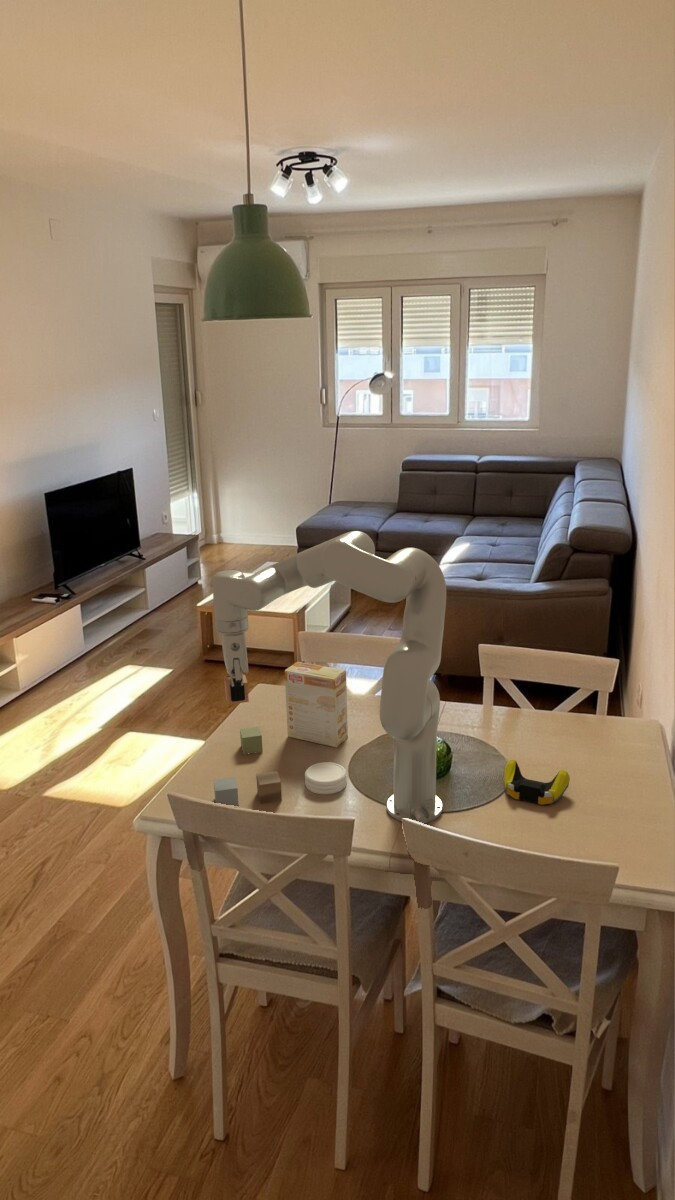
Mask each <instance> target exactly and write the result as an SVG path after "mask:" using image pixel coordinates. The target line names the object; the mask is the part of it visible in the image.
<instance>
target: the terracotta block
mask: <svg viewBox="0 0 675 1200" xmlns="http://www.w3.org/2000/svg"><path fill="white" fill-rule="evenodd" d="M234 678H235V676H233V679H234ZM223 680H224V682H223V683H224V684H223V685H224V695H225V696H224V697H225V700H226V704H227V705H235V704H243V703H249V688H248V680H247V676H246V673H244V674H243V684H244V690H245V700H243V701H234V702H232V701H231V690H230V685H231V676H230V675H227V676H223Z"/></svg>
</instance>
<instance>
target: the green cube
mask: <svg viewBox="0 0 675 1200" xmlns="http://www.w3.org/2000/svg"><path fill="white" fill-rule="evenodd" d="M239 733H240V734H239V735H240V747H242V748H241V750H242V751H243V752H242V751H241V752H242V755H243V754H248V753H255V752H263V751H264V749H263V735H262V731H261V729H260V726H256V727H247V728H240V729H239ZM255 754H256V753H255ZM248 755H249V754H248Z"/></svg>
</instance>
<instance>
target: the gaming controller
mask: <svg viewBox="0 0 675 1200" xmlns="http://www.w3.org/2000/svg"><path fill="white" fill-rule="evenodd" d="M503 772H504V773H503V786H504V790H505V792H506V794H507V795H508V796H510V797H512V798H513V799H515V800H520V801H524V802H528V803H533V804H538V805H542V806H543V805H548V804H549V805H551V804H554V803H555V802H557V801H558V800H559V799H560V798H561V797H562V796H563V795H564V794H565V792H566V791H567V789H569V786H570V774H569V772H568V771H566V770H565V769H560V770H559V771H558V773H556V775H555V776H554V778H553V779H552V780H551V781H549V782H542V781H540V780H539V781H538V780H534V779H533V780H532V779H528V778H526V777H524V776H523V774H522V772H521V769H520V766H519V764H518V762H517V760H513V759H511V760H508V762H507V763H506V765H505V767H504V771H503Z"/></svg>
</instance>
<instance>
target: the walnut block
mask: <svg viewBox="0 0 675 1200" xmlns="http://www.w3.org/2000/svg"><path fill="white" fill-rule="evenodd" d="M255 776H256V788H257V789H256V791H257V796H258V799H259V804H266V803H267V804H268V803H275V802H281V801H283V800H282V799H283V796H282V781H281V778H280V774H279V772H278V771H277V770H275V771H268V772H262V773H261V772H260V773H256V775H255Z"/></svg>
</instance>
